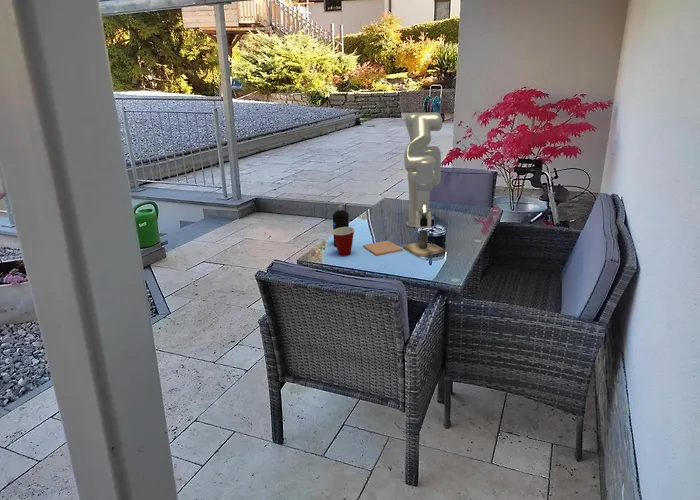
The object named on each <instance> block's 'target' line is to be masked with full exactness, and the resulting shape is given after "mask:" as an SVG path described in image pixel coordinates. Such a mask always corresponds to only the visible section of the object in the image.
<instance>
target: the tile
mask: <svg viewBox="0 0 700 500" xmlns="http://www.w3.org/2000/svg"><path fill="white" fill-rule="evenodd" d="M362 248H364V249H365V250H367V251H368V252H369V253H371V254H373V255H374V256H376V257H378V256H383V255H388V254H392V253H393V254H394V253H399V252H403V247H400V246H399V245H397V244H395V243H393V242H391V241H390V240H384V241H378V242H373V243H368V244H363V245H362Z"/></svg>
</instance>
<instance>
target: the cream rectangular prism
mask: <svg viewBox="0 0 700 500" xmlns="http://www.w3.org/2000/svg"><path fill="white" fill-rule="evenodd" d="M422 212H423V211H422ZM422 214H423V213H422ZM431 216H432V211H431V210H429V212H427V227H421V226H420V218H421V212H418V211H416V228H418V229H423V228H424V229H425V228H426V229H429V228H431V229H432V220H431ZM416 228H415V229H416Z"/></svg>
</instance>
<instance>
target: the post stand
mask: <svg viewBox="0 0 700 500" xmlns="http://www.w3.org/2000/svg"><path fill="white" fill-rule="evenodd" d="M428 232H429V231H428V229H420V230H419V231H418V242H414V243H413V242H412V243H409V244H404V245H402V250H405V251H407V252H408V253H410V254H412V255H414V257H415V256H416V258H422V257H427V256H432V255H436V254H441V253H444V252H445V249H444V248H443V247H440V246H439V245H437V244H434V243H433V242H431V244H430V243H427V242H428V241H429V240H428V237H429V236H428V234H429V233H428ZM432 243H433V244H432Z"/></svg>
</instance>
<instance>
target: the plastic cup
mask: <svg viewBox="0 0 700 500" xmlns="http://www.w3.org/2000/svg"><path fill="white" fill-rule="evenodd" d="M354 233H355V227H352V226H351V227H350V226H349V227H341V228H337V229H334V230H333V229H332V231H331V234H332V236H333V239H334V238H335V242H336V246H337V247H336V249H337V253H338V255H339V256H342V257H346V256H350V255H351V253H352V247H353V240H354Z"/></svg>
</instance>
